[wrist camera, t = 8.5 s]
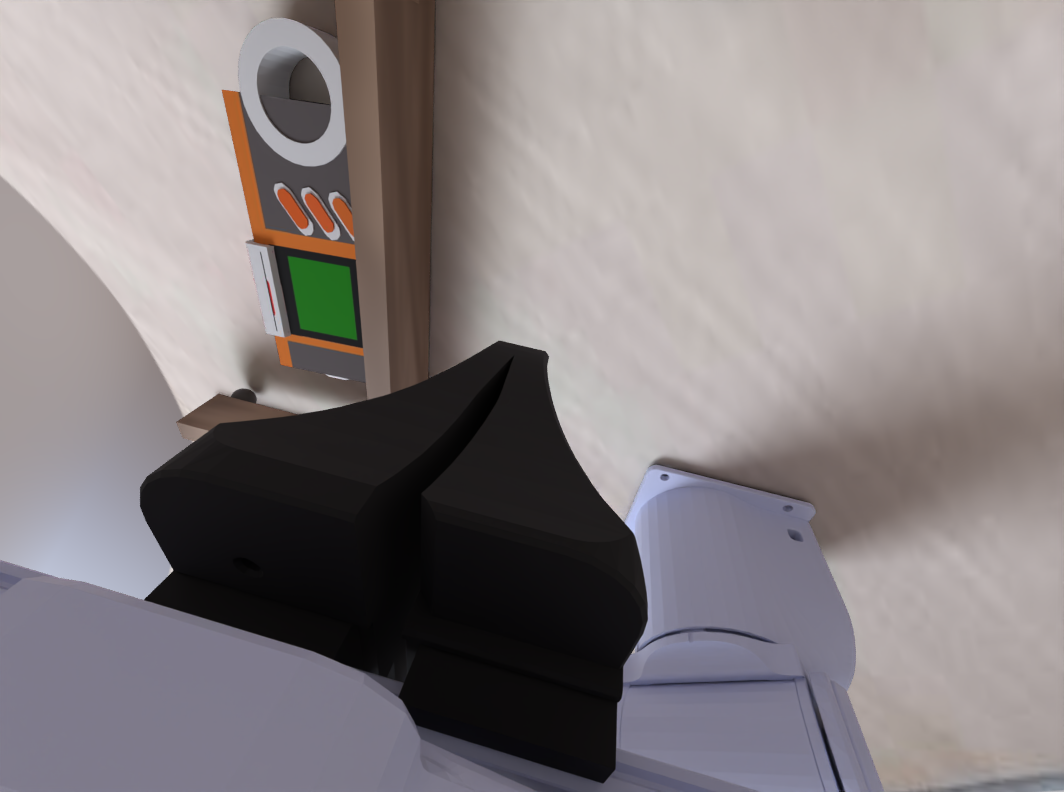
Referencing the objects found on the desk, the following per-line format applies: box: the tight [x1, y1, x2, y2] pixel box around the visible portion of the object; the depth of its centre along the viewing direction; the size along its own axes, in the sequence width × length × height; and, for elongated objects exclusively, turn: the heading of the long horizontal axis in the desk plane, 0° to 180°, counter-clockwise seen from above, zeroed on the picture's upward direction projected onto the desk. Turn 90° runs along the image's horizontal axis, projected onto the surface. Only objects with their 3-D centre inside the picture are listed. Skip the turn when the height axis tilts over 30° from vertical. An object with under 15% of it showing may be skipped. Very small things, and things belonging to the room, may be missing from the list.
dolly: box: [176, 0, 435, 441], centre depth 20 cm, size 13×23×4 cm, turn 171°
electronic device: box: [222, 18, 366, 383], centre depth 20 cm, size 7×3×15 cm
